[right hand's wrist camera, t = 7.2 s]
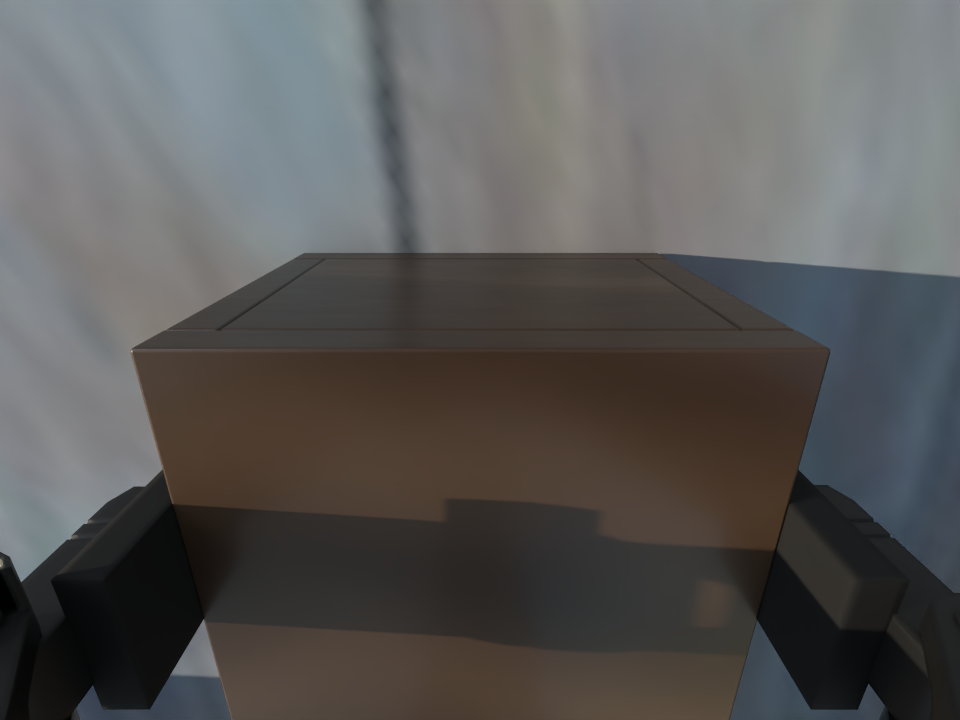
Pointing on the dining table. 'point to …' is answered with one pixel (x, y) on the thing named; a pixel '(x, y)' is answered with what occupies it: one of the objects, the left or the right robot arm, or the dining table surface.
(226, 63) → the dining table surface
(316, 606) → the cabinet
